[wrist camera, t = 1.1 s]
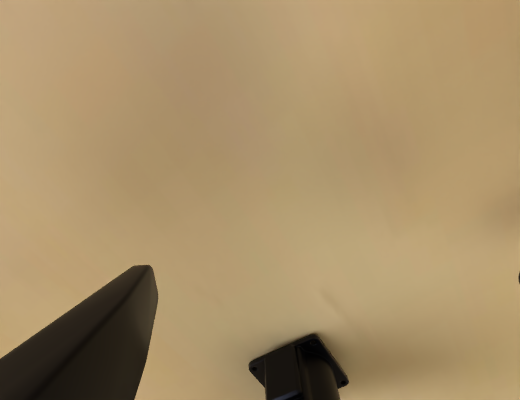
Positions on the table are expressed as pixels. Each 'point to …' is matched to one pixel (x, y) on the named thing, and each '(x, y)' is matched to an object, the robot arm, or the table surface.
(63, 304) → the table surface
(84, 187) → the table surface
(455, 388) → the table surface
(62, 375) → the robot arm
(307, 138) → the table surface
